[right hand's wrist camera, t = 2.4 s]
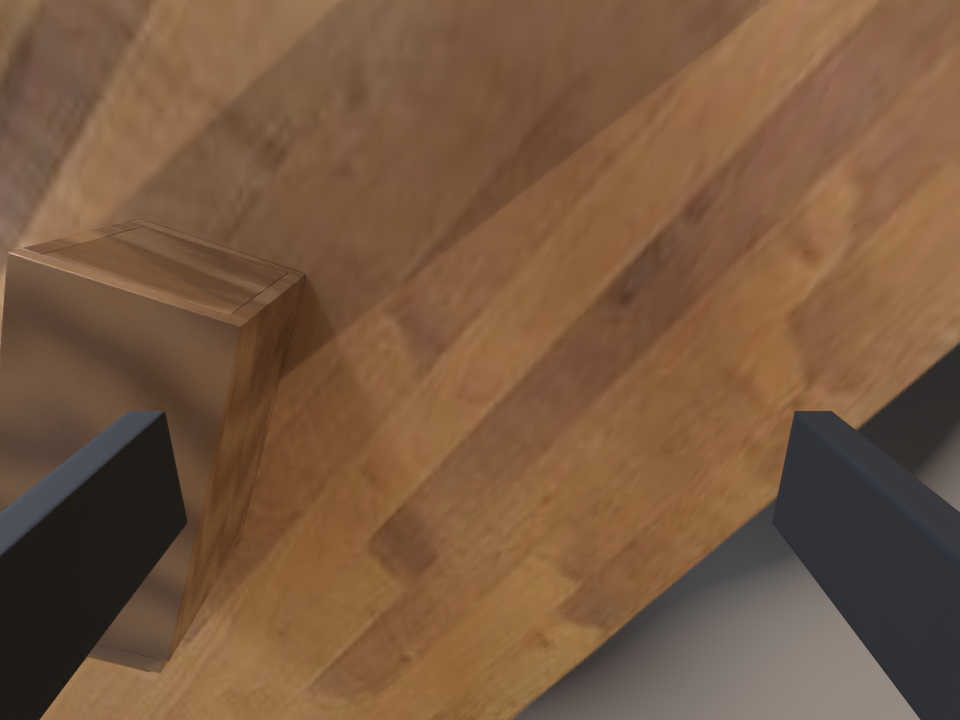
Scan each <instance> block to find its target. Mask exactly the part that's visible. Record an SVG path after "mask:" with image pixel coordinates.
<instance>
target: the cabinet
mask: <svg viewBox="0 0 960 720" xmlns="http://www.w3.org/2000/svg"><path fill="white" fill-rule="evenodd" d="M305 277H306V274H304V273H301V272H298V271H295V270H292V269H289V268H285V267H282V266H279V265H276V264H273V263H270V262H267V261H264V260H261V259H258V258H255V257H252V256H249V255H246V254H243V253H240V252H237V251H234V250H231V249H228V248H225V247H222V246H219V245H216V244H213V243H210V242H207V241H204V240H201V239H198V238H195V237H192V236H189V235H186V234H183V233H180V232H177V231H174V230H171V229H168V228H165V227H162V226H159V225H156V224H153V223H150V222H146V221H143V220H140V219H137V220H133V221H129V222H125V223H121V224H117V225H113V226H109V227H105V228H101V229H97V230H93V231H89V232H85V233H81V234H77V235H73V236H69V237H65V238H61V239H57V240H53V241H49V242H45V243H41V244H37V245H33V246H29V247H25V248H22V249H18V250H14V251H10V252H8V253H7V263H6V278H5V292H4V306H3V320H2V334H1V348H0V512H1V511H3V510H4V509H5V508H6V507H8V506H9V505H10V504H11V503H13V502H14V501H15V500H16V499H18V498H19V497H20V496H22V495H23V494H24V493H25V492H27V491H28V490H29V489H30V488H32V487H33V486H34V485H35V484H37V483H38V482H39V481H41V480H42V479H43V478H44V477H46V476H47V475H48V474H49V473H51V472H52V471H53V470H54V469H56V468H57V467H58V466H60V465H61V464H62V463H63V462H65V461H66V460H67V459H68V458H70V457H71V456H72V455H73V454H75V453H76V452H77V451H79V450H80V449H81V448H82V447H84V446H85V445H86V444H87V443H89V442H90V441H91V440H93V439H94V438H95V437H96V436H98V435H99V434H100V433H101V432H103V431H104V430H105V429H106V428H108V427H109V426H110V425H112V424H113V423H114V422H115V421H117V420H118V419H119V418H120V417H122V416H123V415H124V414H125V413H127V412H128V411H165V413H166V418H167V423H168V428H169V433H170V438H171V442H172V447H173V452H174V457H175V462H176V467H177V472H178V477H179V482H180V487H181V492H182V497H183V502H184V507H185V511H186V516H187V521H188V523H187V524H186V525H185V527H184V528H183V529H182V531H181V532H180V533H179V535H178V536H177V537H176V539H175V540H174V541H173V543H172V544H171V545H170V547H169V548H168V549H167V551H166V552H165V553H164V555H163V556H162V557H161V559H160V560H159V561H158V563H157V564H156V565H155V567H154V568H153V569H152V571H151V572H150V573H149V575H148V576H147V577H146V579H145V580H144V581H143V583H142V584H141V585H140V587H139V588H138V589H137V591H136V592H135V593H134V595H133V596H132V597H131V599H130V600H129V601H128V603H127V604H126V605H125V607H124V608H123V609H122V611H121V612H120V613H119V615H118V616H117V617H116V619H115V620H114V621H113V622H112V624H111V625H110V626H109V628H108V629H107V630H106V632H105V633H104V634H103V636H102V637H101V638H100V640H99V641H98V642H97V644H101V645H105V646H109V647H113V648H117V649H121V650H125V651H129V652H133V653H137V654H141V655H146V656H150V657H154V658H158V659H162V660H166V661H169V660H170V659H171V657H172V655H173V654H174V652H175V650H176V648H177V647H178V645H179V644H180V642H181V640H182V638H183V637H184V635H185V633H186V632H187V630H188V628H189V627H190V625H191V623H192V622H193V620H194V618H195V616H196V615H197V613H198V611H199V610H200V608H201V606H202V605H203V603H204V601H205V599H206V598H207V596H208V594H209V593H210V591H211V589H212V588H213V586H214V584H215V582H216V581H217V579H218V577H219V576H220V574H221V572H222V571H223V569H224V567H225V566H226V564H227V562H228V560H229V559H230V557H231V555H232V554H233V552H234V550H235V548H236V547H237V545H238V543H239V542H240V538H241V534H242V530H243V526H244V522H245V518H246V514H247V510H248V506H249V502H250V498H251V494H252V490H253V486H254V482H255V478H256V474H257V470H258V466H259V462H260V458H261V454H262V450H263V446H264V442H265V438H266V434H267V430H268V426H269V422H270V418H271V414H272V410H273V405H274V401H275V397H276V393H277V389H278V385H279V381H280V377H281V373H282V369H283V365H284V361H285V357H286V353H287V349H288V345H289V341H290V337H291V333H292V329H293V325H294V321H295V317H296V313H297V309H298V305H299V301H300V297H301V293H302V289H303V285H304V281H305Z"/></svg>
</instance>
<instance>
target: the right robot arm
mask: <svg viewBox="0 0 960 720" xmlns="http://www.w3.org/2000/svg"><path fill="white" fill-rule="evenodd" d="M187 523H188V521H187V516H186V511H185V507H184V502H183V497H182V492H181V487H180V482H179V477H178V472H177V467H176V462H175V457H174V452H173V447H172V442H171V438H170V433H169V428H168V423H167V418H166V413H165V411H128V412H127V413H125V414H124V415H123V416H122V417H120V418H119V419H118V420H117V421H115V422H114V423H113V424H112V425H110V426H109V427H108V428H106V429H105V430H104V431H103V432H101V433H100V434H99V435H98V436H96V437H95V438H94V439H93V440H91V441H90V442H89V443H87V444H86V445H85V446H84V447H82V448H81V449H80V450H79V451H77V452H76V453H75V454H73V455H72V456H71V457H70V458H68V459H67V460H66V461H65V462H63V463H62V464H61V465H60V466H58V467H57V468H56V469H54V470H53V471H52V472H51V473H49V474H48V475H47V476H46V477H44V478H43V479H42V480H41V481H39V482H38V483H37V484H35V485H34V486H33V487H32V488H30V489H29V490H28V491H27V492H25V493H24V494H23V495H22V496H20V497H19V498H18V499H16V500H15V501H14V502H13V503H11V504H10V505H9V506H8V507H6V508H5V509H4V510H3V511H1V512H0V720H40V718H41V717H42V716H43V714H44V713H45V712H46V710H47V709H48V708H49V706H50V705H51V704H52V702H53V701H54V700H55V698H56V697H57V696H58V694H59V693H60V692H61V690H62V689H63V688H64V686H65V685H66V684H67V682H68V681H69V680H70V678H71V677H72V676H73V674H74V673H75V672H76V670H77V669H78V668H79V666H80V665H81V664H82V662H83V661H84V660H85V658H86V657H87V656H88V654H89V653H90V652H91V650H92V649H93V648H94V646H95V645H96V644H97V642H98V641H99V640H100V638H101V637H102V636H103V634H104V633H105V632H106V630H107V629H108V628H109V626H110V625H111V624H112V622H113V621H114V620H115V619H116V617H117V616H118V615H119V613H120V612H121V611H122V609H123V608H124V607H125V605H126V604H127V603H128V601H129V600H130V599H131V597H132V596H133V595H134V593H135V592H136V591H137V589H138V588H139V587H140V585H141V584H142V583H143V581H144V580H145V579H146V577H147V576H148V575H149V573H150V572H151V571H152V569H153V568H154V567H155V565H156V564H157V563H158V561H159V560H160V559H161V557H162V556H163V555H164V553H165V552H166V551H167V549H168V548H169V547H170V545H171V544H172V543H173V541H174V540H175V539H176V537H177V536H178V535H179V533H180V532H181V531H182V529H183V528H184V527H185V525H186V524H187ZM772 523H773V524H774V525H775V527H776V528H777V529H778V531H779V532H780V533H781V535H782V536H783V537H784V539H785V540H786V541H787V543H788V544H789V545H790V547H791V548H792V549H793V551H794V552H795V553H796V555H797V556H798V557H799V559H800V560H801V561H802V563H803V564H804V565H805V567H806V568H807V569H808V571H809V572H810V573H811V574H812V576H813V577H814V579H815V580H816V581H817V583H818V584H819V585H820V587H821V588H822V589H823V591H824V592H825V593H826V595H827V596H828V597H829V599H830V600H831V601H832V603H833V604H834V605H835V607H836V608H837V609H838V610H839V612H840V613H841V615H842V616H843V617H844V619H845V620H846V621H847V622H848V624H849V625H850V626H851V628H852V629H853V630H854V632H855V633H856V634H857V636H858V637H859V638H860V640H861V641H862V642H863V644H864V645H865V646H866V648H867V649H868V650H869V652H870V653H871V654H872V656H873V657H874V658H875V660H876V661H877V662H878V664H879V665H880V666H881V668H882V669H883V670H884V672H885V673H886V674H887V676H888V677H889V678H890V680H891V681H892V682H893V684H894V685H895V686H896V688H897V689H898V690H899V692H900V693H901V694H902V696H903V697H904V698H905V700H906V701H907V702H908V704H909V705H910V706H911V708H912V709H913V710H914V711H915V713H916V714H917V716H918V717H919V718H920V720H960V512H959V511H957V510H956V509H955V508H954V507H952V506H951V505H950V504H949V503H947V502H946V501H945V500H944V499H942V498H941V497H940V496H938V495H937V494H936V493H935V492H933V491H932V490H931V489H930V488H928V487H927V486H926V485H925V484H923V483H922V482H921V481H919V480H918V479H917V478H916V477H914V476H913V475H912V474H911V473H909V472H908V471H907V470H905V469H904V468H903V467H902V466H900V465H899V464H898V463H897V462H895V461H894V460H893V459H892V458H890V457H889V456H888V455H887V454H885V453H884V452H883V451H881V450H880V449H879V448H878V447H876V446H875V445H874V444H873V443H871V442H870V441H869V440H867V439H866V438H865V437H864V436H862V435H861V434H860V433H859V432H857V431H856V430H855V429H854V428H852V427H851V426H850V425H848V424H847V423H846V422H845V421H843V420H842V419H841V418H840V417H838V416H837V415H836V414H835V413H833V412H832V411H795V413H794V418H793V423H792V428H791V433H790V438H789V442H788V447H787V452H786V457H785V462H784V467H783V472H782V477H781V482H780V487H779V492H778V497H777V502H776V507H775V511H774V516H773V522H772Z"/></svg>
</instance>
